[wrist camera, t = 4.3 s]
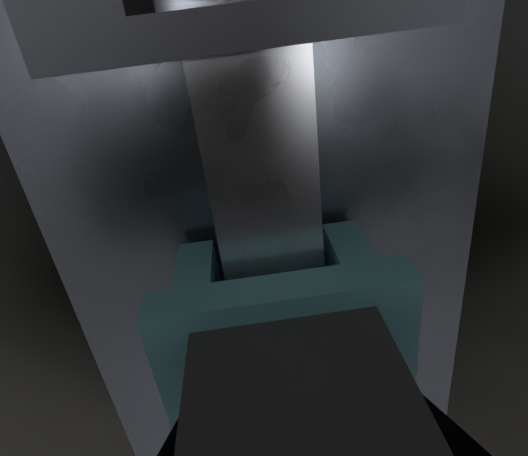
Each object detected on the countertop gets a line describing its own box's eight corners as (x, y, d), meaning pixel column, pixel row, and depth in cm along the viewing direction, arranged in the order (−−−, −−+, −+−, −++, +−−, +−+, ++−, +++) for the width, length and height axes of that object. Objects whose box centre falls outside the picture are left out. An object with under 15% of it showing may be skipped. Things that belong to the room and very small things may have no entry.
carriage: (377, 216, 11) (539, 432, 5) (374, 352, 13) (485, 604, 8) (157, 248, 11) (80, 501, 5) (193, 379, 13) (168, 655, 8)
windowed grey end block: (406, -307, 7) (518, -508, 4) (378, 565, 21) (400, 645, 18) (-7, -259, 7) (-157, -437, 4) (242, 586, 21) (245, 670, 18)
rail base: (514, -285, 8) (660, -439, 5) (418, 535, 22) (444, 607, 19) (-114, -212, 8) (-296, -334, 5) (195, 570, 22) (190, 648, 19)
